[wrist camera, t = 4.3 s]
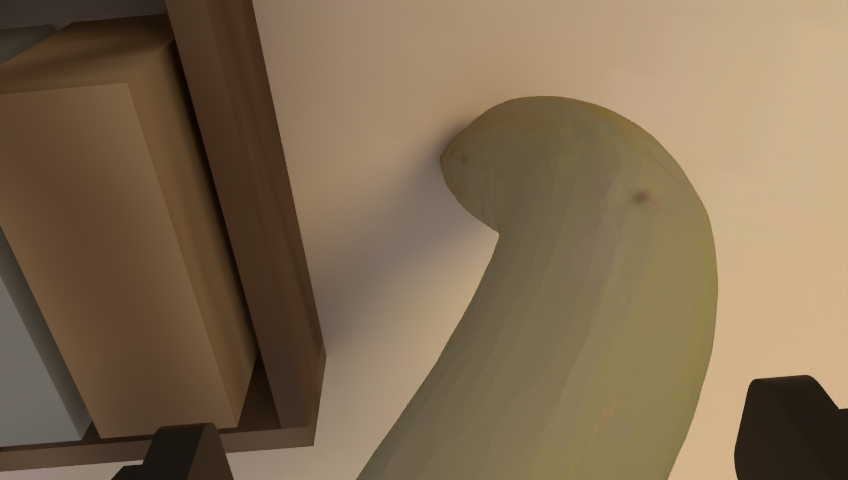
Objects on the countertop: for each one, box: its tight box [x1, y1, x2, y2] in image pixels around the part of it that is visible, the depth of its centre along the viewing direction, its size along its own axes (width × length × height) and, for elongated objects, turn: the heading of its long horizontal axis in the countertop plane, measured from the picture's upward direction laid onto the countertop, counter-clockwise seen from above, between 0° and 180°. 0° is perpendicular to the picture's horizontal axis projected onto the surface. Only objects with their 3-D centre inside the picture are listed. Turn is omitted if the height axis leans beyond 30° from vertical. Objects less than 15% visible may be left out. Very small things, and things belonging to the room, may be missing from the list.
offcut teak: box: [0, 13, 259, 438], centre depth 18 cm, size 4×9×6 cm, turn 5°
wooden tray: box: [0, 0, 326, 472], centre depth 18 cm, size 10×15×4 cm
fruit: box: [356, 96, 718, 480], centre depth 13 cm, size 7×15×3 cm
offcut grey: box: [0, 24, 92, 447], centre depth 18 cm, size 4×9×6 cm, turn 5°
